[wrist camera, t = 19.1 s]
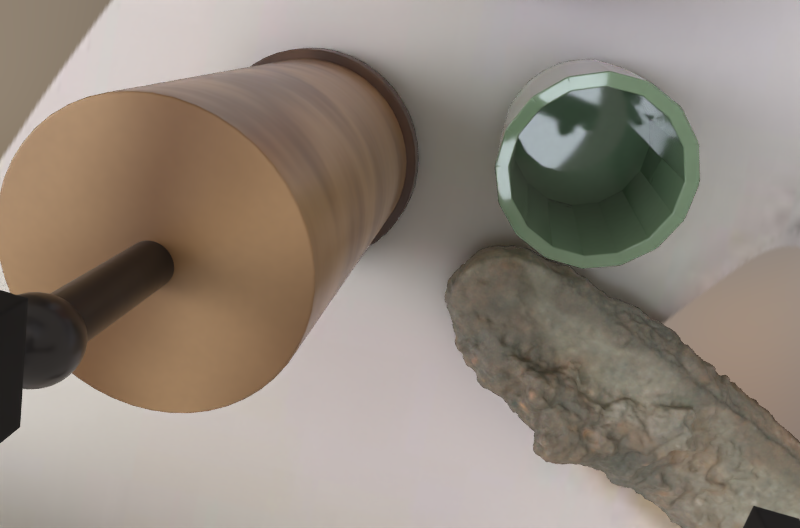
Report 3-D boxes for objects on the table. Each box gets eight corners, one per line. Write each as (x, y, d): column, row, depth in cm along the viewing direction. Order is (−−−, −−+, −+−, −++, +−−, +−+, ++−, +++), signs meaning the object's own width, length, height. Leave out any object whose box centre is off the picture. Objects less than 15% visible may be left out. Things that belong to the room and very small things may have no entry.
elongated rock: (824, 632, 48) (947, 537, 46) (865, 702, 43) (1007, 601, 41) (404, 323, 44) (511, 196, 41) (397, 361, 39) (517, 220, 36)
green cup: (485, 187, 41) (473, 237, 32) (528, 41, 39) (529, 49, 29) (626, 228, 41) (656, 290, 32) (681, 82, 38) (732, 103, 29)
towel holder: (204, 222, 45) (-217, 488, 20) (236, 23, 41) (-245, 32, 15) (390, 277, 44) (205, 631, 19) (442, 80, 40) (295, 190, 15)
